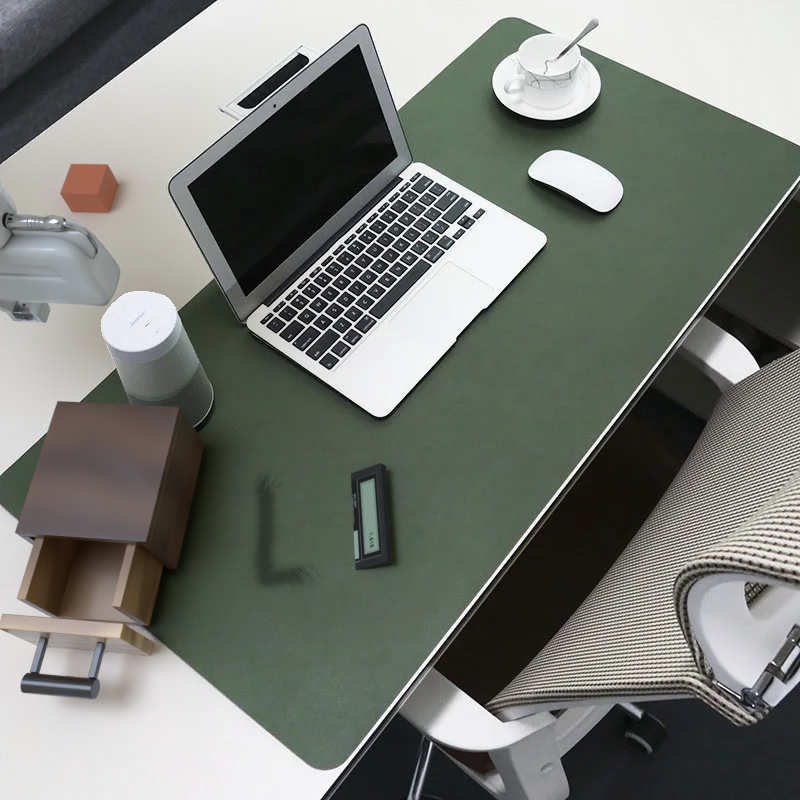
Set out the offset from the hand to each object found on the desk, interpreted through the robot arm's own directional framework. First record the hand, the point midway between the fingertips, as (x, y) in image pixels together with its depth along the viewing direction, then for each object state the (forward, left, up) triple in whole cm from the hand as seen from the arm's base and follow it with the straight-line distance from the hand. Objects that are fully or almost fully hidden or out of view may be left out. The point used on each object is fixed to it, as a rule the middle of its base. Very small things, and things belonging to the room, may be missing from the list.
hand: (33, 315), depth 75 cm
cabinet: (+8, -13, -14) cm, 20 cm away
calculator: (+27, -14, -14) cm, 33 cm away
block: (-6, +24, -14) cm, 29 cm away
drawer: (+8, -23, -13) cm, 27 cm away
